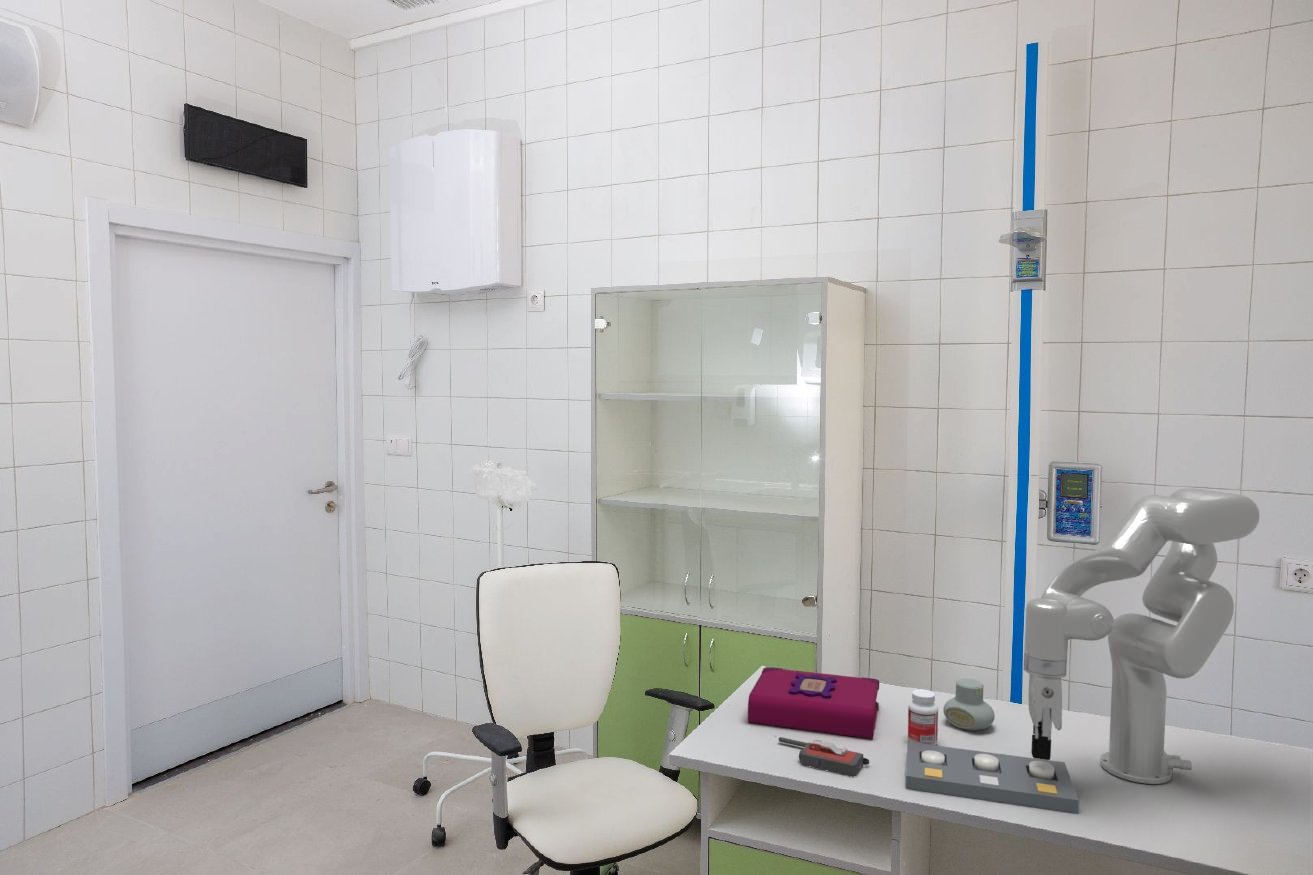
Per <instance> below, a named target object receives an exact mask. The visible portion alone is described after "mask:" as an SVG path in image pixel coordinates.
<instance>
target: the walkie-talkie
mask: <svg viewBox="0 0 1313 875" xmlns="http://www.w3.org/2000/svg"><path fill="white" fill-rule="evenodd" d="M778 742H780V743H782V744H788V745H791V746H796V747H800V748H801V747H802V748H804V749H800V751H799V754H798V760H799V761H801V762H800V765H801V766H802V767H803V766H804V767H807V766H811V767H810V768H812V767H814V768H813V769H816V768H817V769H816V770H821V771H825V770H828V771H827V772H830V773H834V774H838V775H843V776H846V775H848V776H847V777H851V776H852V778H853V777H854V776H856V777H857V776H858V774H859V773H860V771H861V770H862V768H863V766H864V765H869V764H870V759H869V758H866V757H864V753H861V752H856V751H852V750H848V748H847V747H843V748H839V747H837V746H836V745H835V744H834V743H831V742H828V741H823V740H818V739H814V740H813V741H812V742H804V741H801V740H795V739H791V738H788V737H787V738H786V737H783V736H780V737H778Z"/></svg>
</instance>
